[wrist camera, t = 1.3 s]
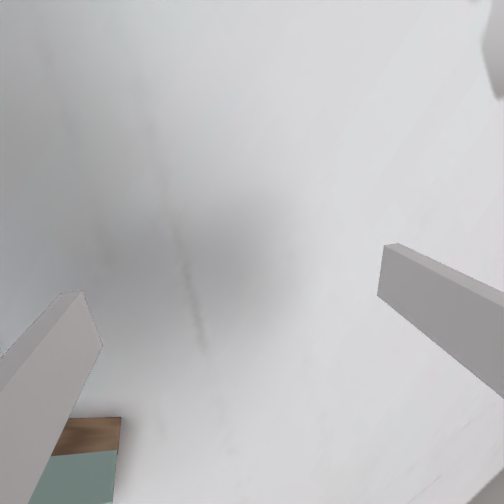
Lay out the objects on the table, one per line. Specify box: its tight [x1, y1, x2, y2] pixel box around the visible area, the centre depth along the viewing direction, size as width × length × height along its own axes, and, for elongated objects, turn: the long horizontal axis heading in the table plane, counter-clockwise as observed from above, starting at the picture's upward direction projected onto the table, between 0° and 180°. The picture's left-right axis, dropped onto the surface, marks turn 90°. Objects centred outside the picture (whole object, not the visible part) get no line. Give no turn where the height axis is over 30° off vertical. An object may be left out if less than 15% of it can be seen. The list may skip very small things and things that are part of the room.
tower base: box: [51, 417, 121, 456], centre depth 24 cm, size 9×9×5 cm
